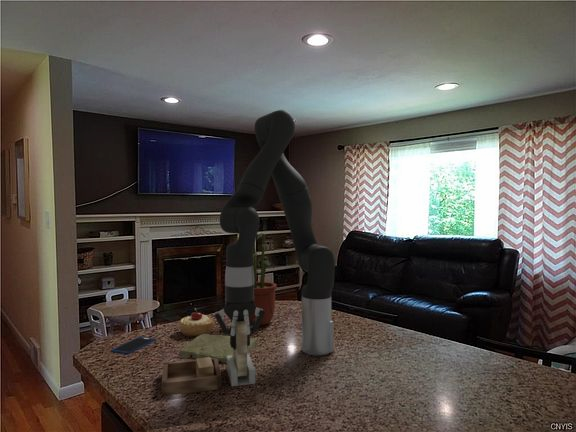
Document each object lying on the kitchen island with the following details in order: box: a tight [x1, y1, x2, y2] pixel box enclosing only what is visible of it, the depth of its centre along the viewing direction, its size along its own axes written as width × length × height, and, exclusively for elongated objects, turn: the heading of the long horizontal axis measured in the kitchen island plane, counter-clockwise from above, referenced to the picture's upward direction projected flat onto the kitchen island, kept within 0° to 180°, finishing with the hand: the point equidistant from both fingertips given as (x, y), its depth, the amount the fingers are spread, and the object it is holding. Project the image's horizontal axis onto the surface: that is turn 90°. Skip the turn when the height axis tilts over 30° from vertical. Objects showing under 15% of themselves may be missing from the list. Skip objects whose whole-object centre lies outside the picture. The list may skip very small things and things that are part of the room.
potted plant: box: [249, 233, 277, 326], centre depth 153 cm, size 17×16×35 cm
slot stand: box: [226, 353, 256, 387], centre depth 104 cm, size 6×11×4 cm, turn 15°
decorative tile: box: [177, 333, 258, 364], centre depth 123 cm, size 19×20×4 cm
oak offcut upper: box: [195, 357, 214, 377], centre depth 101 cm, size 4×6×2 cm, turn 19°
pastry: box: [178, 307, 214, 338], centre depth 142 cm, size 12×12×9 cm
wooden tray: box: [161, 358, 223, 397], centre depth 101 cm, size 14×12×4 cm
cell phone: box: [110, 336, 157, 355], centre depth 129 cm, size 7×14×1 cm, turn 161°
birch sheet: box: [233, 321, 247, 377], centre depth 104 cm, size 2×9×13 cm, turn 15°
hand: (239, 347), depth 104 cm, fingers closed on birch sheet, 2 cm apart
